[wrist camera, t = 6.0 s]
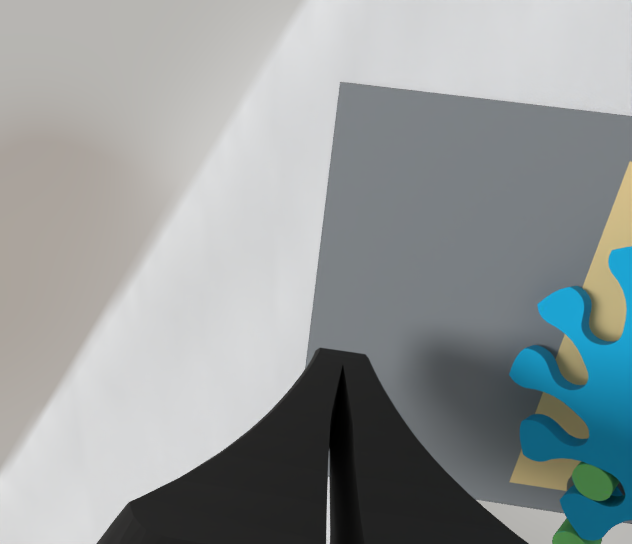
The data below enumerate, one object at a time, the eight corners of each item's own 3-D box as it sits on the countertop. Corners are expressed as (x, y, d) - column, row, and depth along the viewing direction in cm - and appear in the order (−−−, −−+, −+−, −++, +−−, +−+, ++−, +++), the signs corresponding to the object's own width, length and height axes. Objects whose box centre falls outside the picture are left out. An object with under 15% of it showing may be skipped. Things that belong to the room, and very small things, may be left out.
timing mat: (964, 156, 12) (994, 159, 11) (721, 526, 17) (734, 540, 17) (340, 83, 13) (340, 81, 12) (294, 459, 18) (292, 471, 17)
